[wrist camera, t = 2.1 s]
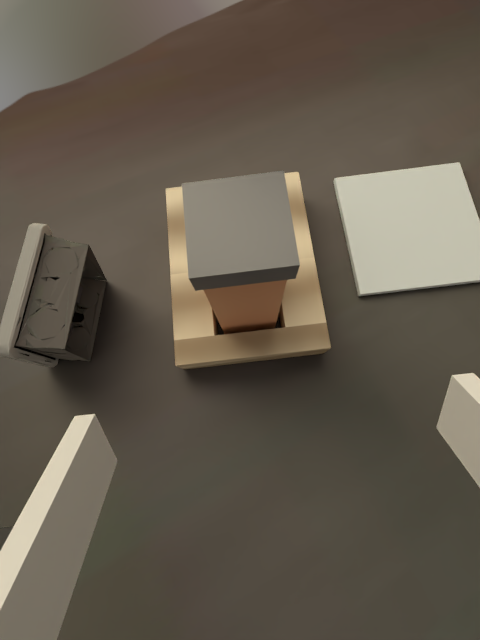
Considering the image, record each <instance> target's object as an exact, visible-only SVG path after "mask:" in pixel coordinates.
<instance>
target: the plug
mask: <svg viewBox="0 0 480 640" xmlns="http://www.w3.org/2000/svg"><path fill="white" fill-rule="evenodd" d="M182 193H183V207H184V221H185V235H186V249H187V263H188V277H189V280H190V282H191V284H192V286H193V287H194V289H195V291H197V290H204V292H205V294H206V296H207V298H208V301H209V303H210V305H211V307H212V309H213V311H214V313H215V315H216V317H217V319H218V322H219V324H220V326H221V328H222V330H223V332H224V334H233V333H241V332H250V331H258V330H267V329H275V326H276V322H277V318H278V314H279V310H280V306H281V302H282V298H283V294H284V290H285V286H286V282H287V280H289V279H296V276H297V273H298V270H299V267H300V262H299V256H298V250H297V245H296V239H295V233H294V227H293V221H292V215H291V210H290V204H289V198H288V192H287V186H286V180H285V175H284V171H277V172H269V173H261V174H253V175H245V176H238V177H230V178H222V179H214V180H206V181H198V182H191V183H183V184H182Z"/></svg>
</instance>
